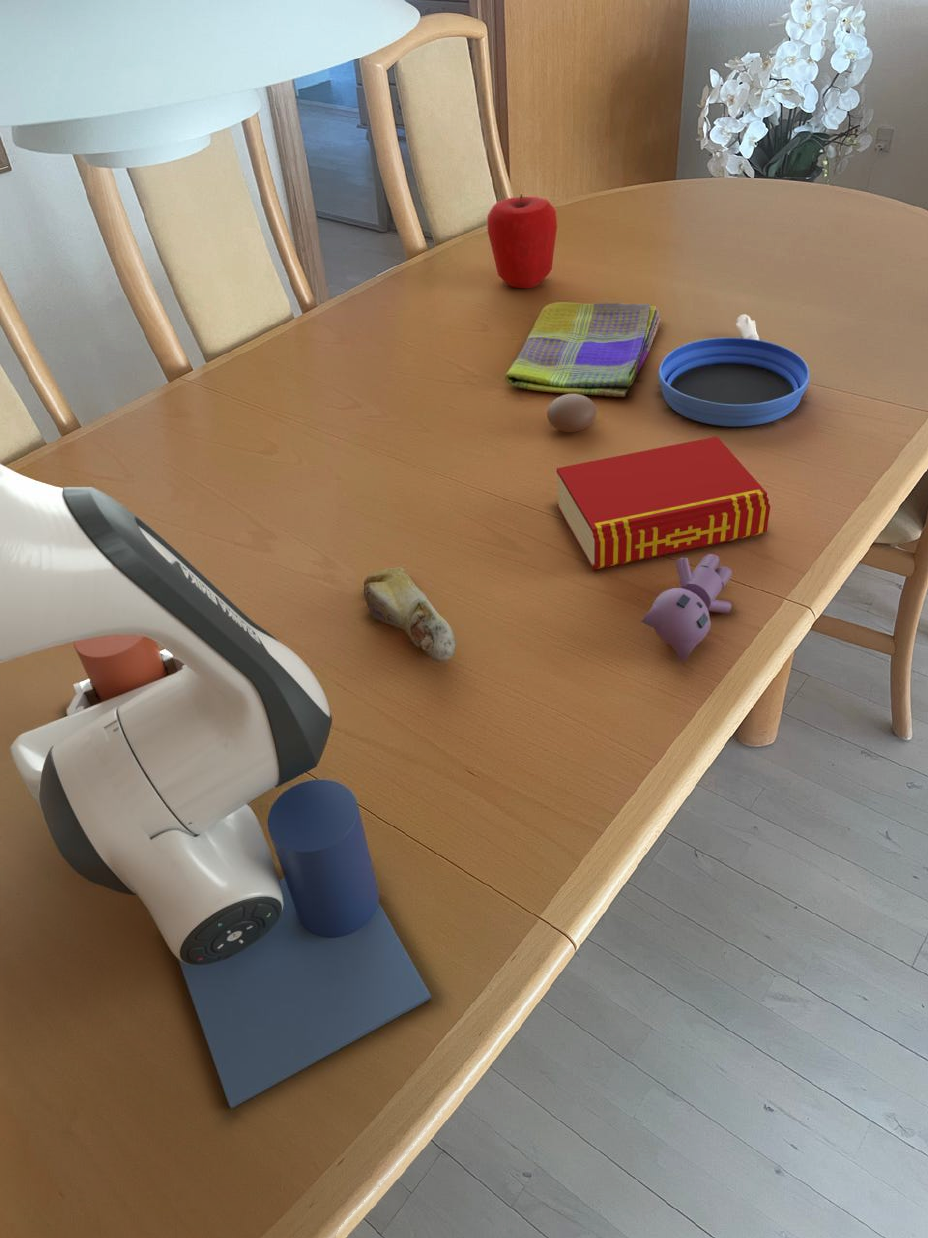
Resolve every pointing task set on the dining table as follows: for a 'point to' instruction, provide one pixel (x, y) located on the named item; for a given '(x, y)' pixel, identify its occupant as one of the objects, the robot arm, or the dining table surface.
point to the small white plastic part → (747, 327)
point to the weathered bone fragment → (409, 612)
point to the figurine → (689, 605)
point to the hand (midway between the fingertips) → (126, 670)
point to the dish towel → (585, 348)
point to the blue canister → (324, 857)
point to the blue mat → (299, 998)
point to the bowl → (733, 381)
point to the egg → (571, 412)
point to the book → (660, 502)
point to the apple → (522, 239)
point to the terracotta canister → (120, 663)
